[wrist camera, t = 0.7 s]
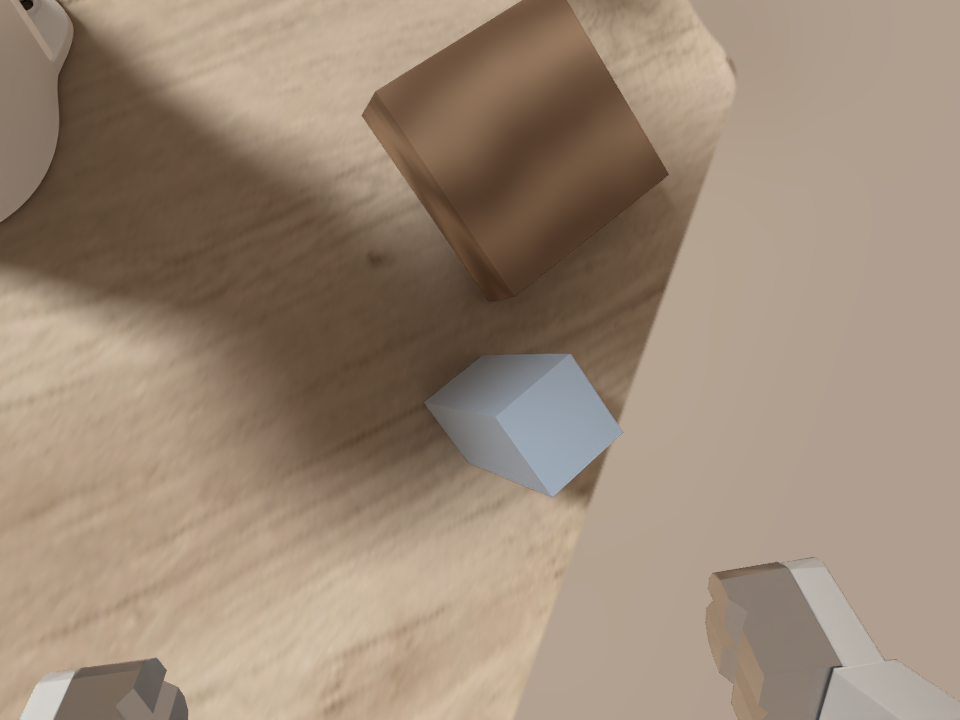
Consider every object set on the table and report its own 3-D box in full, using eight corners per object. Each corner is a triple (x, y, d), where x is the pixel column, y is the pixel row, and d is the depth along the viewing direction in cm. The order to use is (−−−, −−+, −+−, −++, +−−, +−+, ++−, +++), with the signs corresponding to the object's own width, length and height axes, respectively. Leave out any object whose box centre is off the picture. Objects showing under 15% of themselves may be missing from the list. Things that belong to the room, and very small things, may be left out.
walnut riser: (361, 115, 42) (375, 91, 38) (527, 11, 46) (554, -20, 42) (489, 301, 45) (514, 296, 41) (634, 188, 49) (668, 174, 45)
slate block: (423, 402, 43) (495, 417, 32) (482, 355, 45) (570, 353, 34) (468, 462, 44) (552, 497, 33) (524, 414, 46) (623, 432, 35)
